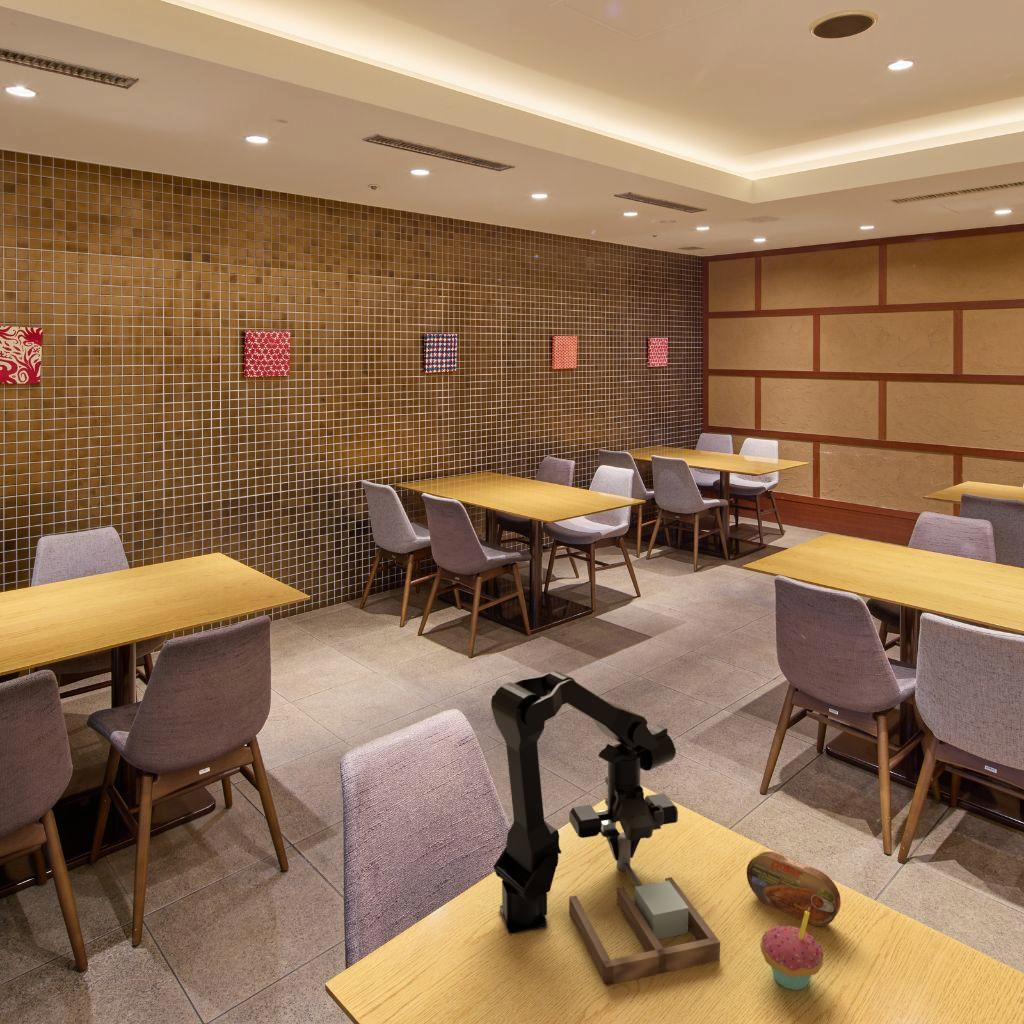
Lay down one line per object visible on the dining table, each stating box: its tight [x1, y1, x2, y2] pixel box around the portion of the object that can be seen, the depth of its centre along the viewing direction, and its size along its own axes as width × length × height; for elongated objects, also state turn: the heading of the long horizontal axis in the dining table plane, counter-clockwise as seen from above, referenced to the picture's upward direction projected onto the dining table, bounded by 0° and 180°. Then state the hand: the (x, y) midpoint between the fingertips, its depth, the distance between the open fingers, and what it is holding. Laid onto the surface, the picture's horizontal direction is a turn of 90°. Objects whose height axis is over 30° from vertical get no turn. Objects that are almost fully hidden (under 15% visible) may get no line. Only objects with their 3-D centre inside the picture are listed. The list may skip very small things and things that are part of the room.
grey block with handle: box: [616, 831, 689, 941], centre depth 130 cm, size 6×20×6 cm, turn 15°
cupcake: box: [760, 907, 824, 991], centre depth 111 cm, size 9×8×12 cm
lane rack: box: [568, 876, 721, 986], centre depth 121 cm, size 18×16×3 cm
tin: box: [746, 851, 842, 927], centre depth 126 cm, size 15×3×8 cm, turn 47°
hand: (623, 858), depth 139 cm, fingers closed on grey block with handle, 2 cm apart
